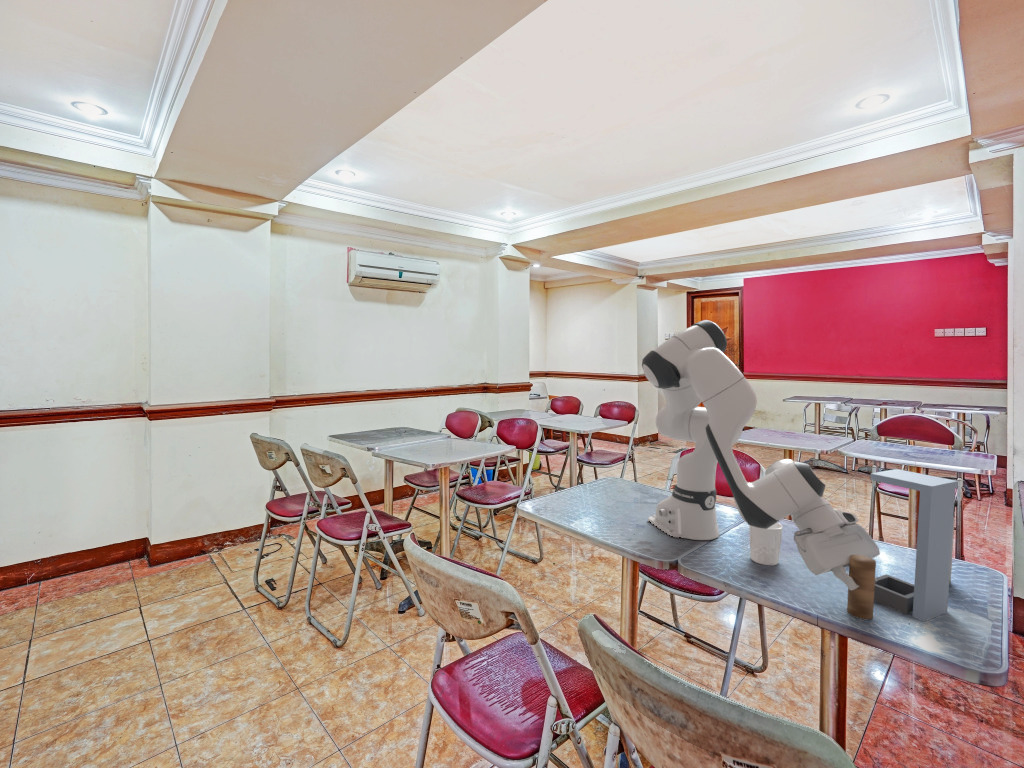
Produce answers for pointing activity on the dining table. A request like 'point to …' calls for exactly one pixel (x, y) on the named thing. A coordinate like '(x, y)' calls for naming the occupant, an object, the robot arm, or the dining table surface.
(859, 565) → the peg
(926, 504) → the awning
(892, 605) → the socket
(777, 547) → the white cup
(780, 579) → the dining table surface
